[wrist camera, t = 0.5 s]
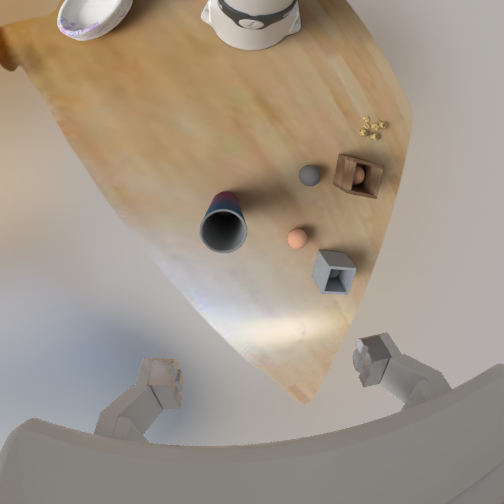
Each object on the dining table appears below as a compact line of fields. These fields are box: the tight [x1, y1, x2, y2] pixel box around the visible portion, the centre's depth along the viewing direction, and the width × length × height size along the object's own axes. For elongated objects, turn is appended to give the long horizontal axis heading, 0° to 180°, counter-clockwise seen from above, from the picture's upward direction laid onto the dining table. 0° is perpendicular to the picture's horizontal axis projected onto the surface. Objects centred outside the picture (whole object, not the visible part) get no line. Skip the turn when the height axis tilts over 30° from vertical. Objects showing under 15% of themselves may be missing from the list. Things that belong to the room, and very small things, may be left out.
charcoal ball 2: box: [328, 269, 340, 278], centre depth 58 cm, size 4×4×4 cm
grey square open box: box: [312, 250, 357, 295], centre depth 57 cm, size 6×6×7 cm
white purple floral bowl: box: [57, 0, 133, 41], centre depth 28 cm, size 15×15×8 cm
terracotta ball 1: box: [288, 229, 307, 249], centre depth 55 cm, size 4×4×4 cm
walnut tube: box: [333, 154, 384, 199], centre depth 48 cm, size 6×6×7 cm
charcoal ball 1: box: [299, 165, 320, 186], centre depth 49 cm, size 4×4×4 cm
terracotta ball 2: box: [352, 165, 365, 184], centre depth 49 cm, size 4×4×4 cm
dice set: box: [359, 116, 387, 140], centre depth 47 cm, size 5×5×2 cm
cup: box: [200, 192, 247, 253], centre depth 46 cm, size 7×7×15 cm
